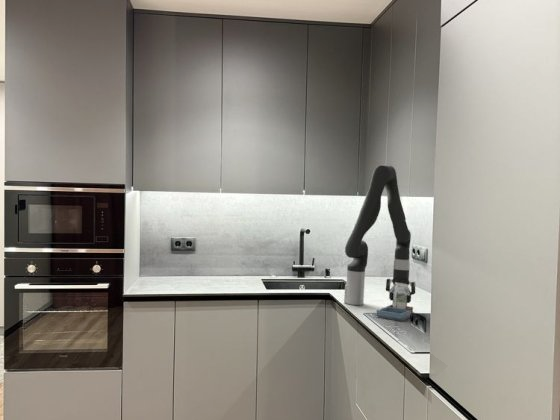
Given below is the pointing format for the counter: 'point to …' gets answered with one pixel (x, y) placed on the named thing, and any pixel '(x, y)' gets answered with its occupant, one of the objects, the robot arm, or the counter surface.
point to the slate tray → (394, 313)
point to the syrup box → (400, 296)
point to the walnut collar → (404, 309)
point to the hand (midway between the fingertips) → (399, 301)
